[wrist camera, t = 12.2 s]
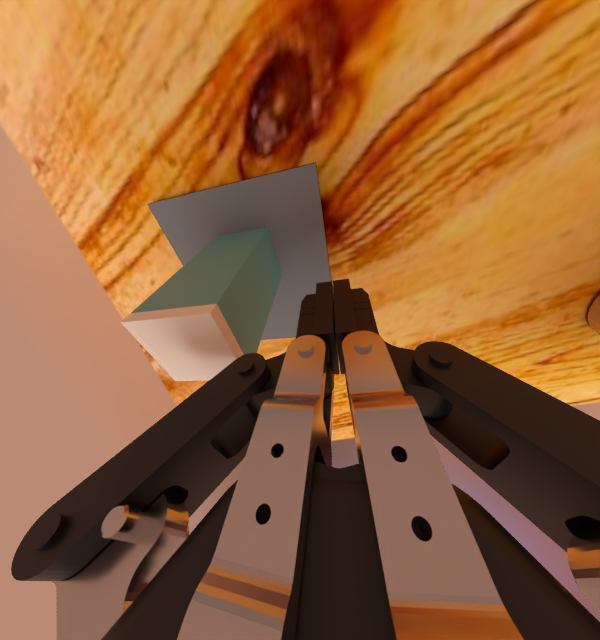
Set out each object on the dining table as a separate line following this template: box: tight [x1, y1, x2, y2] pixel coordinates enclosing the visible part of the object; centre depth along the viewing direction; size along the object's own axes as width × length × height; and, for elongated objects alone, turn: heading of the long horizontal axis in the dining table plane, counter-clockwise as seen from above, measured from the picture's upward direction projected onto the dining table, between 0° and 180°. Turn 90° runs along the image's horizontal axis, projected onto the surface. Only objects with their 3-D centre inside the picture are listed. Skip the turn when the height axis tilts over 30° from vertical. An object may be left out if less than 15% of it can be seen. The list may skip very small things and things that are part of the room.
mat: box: [148, 163, 331, 340], centre depth 19 cm, size 12×14×1 cm
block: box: [121, 227, 282, 381], centre depth 13 cm, size 4×4×10 cm
